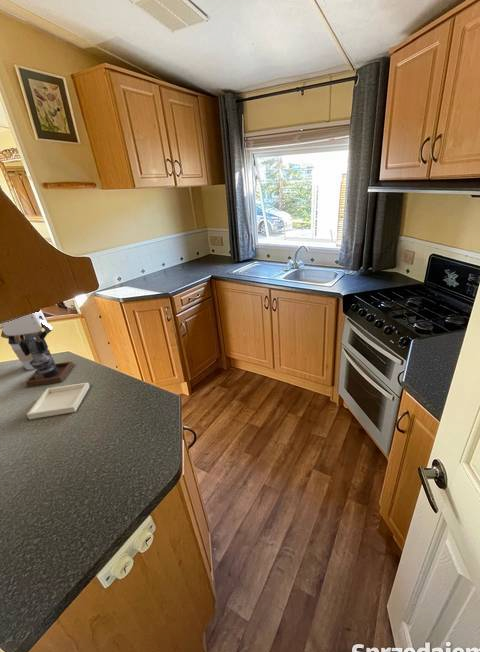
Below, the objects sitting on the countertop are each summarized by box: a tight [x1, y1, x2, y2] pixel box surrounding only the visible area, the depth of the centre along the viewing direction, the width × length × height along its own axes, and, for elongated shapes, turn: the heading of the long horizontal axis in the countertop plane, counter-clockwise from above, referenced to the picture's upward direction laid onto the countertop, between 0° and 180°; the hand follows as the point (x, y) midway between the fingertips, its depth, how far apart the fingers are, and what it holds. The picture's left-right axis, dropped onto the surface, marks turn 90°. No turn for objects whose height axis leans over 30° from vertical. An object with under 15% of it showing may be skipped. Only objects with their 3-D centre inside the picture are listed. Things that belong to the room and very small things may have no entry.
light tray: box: [26, 382, 91, 420], centre depth 99 cm, size 14×14×2 cm
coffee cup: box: [7, 334, 36, 371], centre depth 119 cm, size 9×9×15 cm
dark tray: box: [25, 361, 74, 388], centre depth 114 cm, size 12×12×2 cm
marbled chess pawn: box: [26, 337, 55, 374], centre depth 91 cm, size 6×6×12 cm
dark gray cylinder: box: [42, 348, 59, 378], centre depth 112 cm, size 5×5×10 cm
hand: (36, 351), depth 91 cm, fingers closed on marbled chess pawn, 3 cm apart
